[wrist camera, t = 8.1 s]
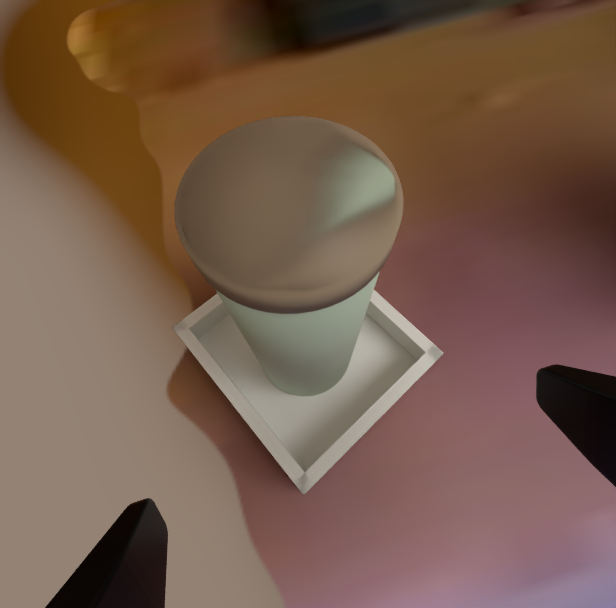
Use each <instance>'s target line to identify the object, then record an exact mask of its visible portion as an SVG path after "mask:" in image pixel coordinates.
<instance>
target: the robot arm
mask: <svg viewBox="0 0 616 608" xmlns="http://www.w3.org/2000/svg"><path fill="white" fill-rule="evenodd" d="M536 398H537V402H538V404H539V406H540V407H541V409H542V410H543V411H544V412H545V413H546V414H547V416H548V417H549V418H550V419H551V420H552V421H553V422H554V423H555V424H556V425H557V427H558V428H559V429H560V430H561V431H562V432H563V433H564V434H565V435H566V437H567V438H568V439H569V440H570V441H571V442H572V443H573V444H574V445H575V446H576V448H577V449H578V450H579V451H580V452H581V453H582V454H583V455H584V456H585V457H586V458H587V460H588V461H589V462H590V463H591V464H592V465H593V466H594V467H595V468H596V469H597V470H598V471H599V472H600V473H601V474H602V475H604V476H605V477H606V478H607V479H608V480H609V481H610V482H611V483H612V484H613V485H614V486H615V487H616V377H615V376H610V375H605V374H601V373H596V372H591V371H586V370H582V369H577V368H572V367H567V366H562V365H551V366H548V367H544V368H541V369H540V370H538V372H537V376H536ZM167 543H168V531H167V527H166V523H165V521H164V520H163V518H162V516H161V514H160V512H159V510H158V508H157V507H156V505H155V503H154V501H153V500H152V499H149V498H147V499H143V500H140V501H137V502H134V503H132V504H130V505H129V506H128V507H127V508H126V509H125V510H124V511H123V513H122V514H121V515H120V516H119V518H118V519H117V520H116V521H115V523H114V524H113V525H112V526H111V528H110V529H109V530H108V531H107V532H106V534H105V535H104V536H103V537H102V539H101V540H100V541H99V542H98V543H97V545H96V546H95V547H94V548H93V550H92V551H91V552H90V553H89V554H88V556H87V557H86V558H85V560H84V561H83V562H82V563H81V564H80V566H79V567H78V568H77V569H76V570H75V572H74V573H73V574H72V576H71V577H70V578H69V579H68V581H67V582H66V583H65V584H64V585H63V587H62V588H61V589H60V590H59V592H58V593H57V594H56V595H55V596H54V598H53V599H52V600H51V601H50V602H49V604H48V605H47V606H46V607H45V608H165V586H166V565H167Z"/></svg>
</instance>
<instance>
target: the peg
mask: <svg viewBox="0 0 616 608" xmlns="http://www.w3.org/2000/svg"><path fill="white" fill-rule="evenodd" d="M402 213H403V193H402V187H401V183H400V180H399V177H398V175H397V173H396V171H395V169H394V167H393V165H392V163H391V162H390V160H389V159H388V158H387V156H386V155H385V154H384V153H383V152H382V151H381V150H380V149H379V147H378V146H376V145H375V144H374V143H373V142H372V141H370V140H369V139H368V138H366V137H365V136H363V135H362V134H360V133H359V132H357V131H355V130H353V129H351V128H349V127H347V126H344V125H341V124H338V123H336V122H332V121H329V120H325V119H320V118H313V117H304V116H282V117H274V118H268V119H263V120H258V121H255V122H252V123H248V124H245V125H243V126H240V127H238V128H236V129H233V130H231V131H230V132H228V133H226V134H224V135H222V136H221V137H219V138H218V139H216V140H215V141H213V142H212V143H211V144H209V145H208V146H207V147H206V148H205V149H204V150H202V151H201V152H200V154H199V155H198V156H197V157H196V158H195V159H194V160H193V161H192V163H191V164H190V166H189V167H188V169H187V170H186V172H185V174H184V176H183V178H182V180H181V182H180V185H179V187H178V190H177V194H176V200H175V222H176V228H177V231H178V234H179V237H180V240H181V242H182V244H183V246H184V248H185V249H186V251H187V253H188V254H189V256H190V258H191V259H192V261H193V262H194V264H195V266H196V267H197V269H198V270H199V272H200V273H201V274H202V276H203V277H204V278H205V280H206V281H207V282H208V283H209V284H210V285H211V286H212V287H213V288H214V289H215V290H216V292H217V293H218V295H219V297H220V298H221V300H222V302H223V303H224V305H225V307H226V308H227V310H228V312H229V313H230V315H231V317H232V318H233V320H234V322H235V323H236V325H237V327H238V328H239V330H240V332H241V333H242V335H243V337H244V338H245V340H246V342H247V343H248V345H249V347H250V348H251V350H252V352H253V353H254V355H255V357H256V358H257V360H258V362H259V363H260V365H261V367H262V368H263V370H264V372H265V373H266V375H267V376H268V378H269V379H270V381H271V382H272V383H273V384H274V385H275V386H277V387H278V388H279V389H281V390H283V391H284V392H287V393H289V394H292V395H296V396H315V395H318V394H321V393H324V392H326V391H328V390H329V389H331V388H333V387H334V386H335V385H336V384H337V383H338V382H339V381H340V380H341V379H342V377H343V376H344V374H345V373H346V371H347V368H348V365H349V363H350V360H351V357H352V354H353V350H354V347H355V344H356V341H357V338H358V335H359V332H360V329H361V326H362V323H363V320H364V317H365V314H366V311H367V308H368V305H369V302H370V299H371V296H372V293H373V290H374V287H375V284H376V281H377V278H378V275H379V272H380V270H381V269H382V267H383V266H384V264H385V262H386V260H387V258H388V257H389V254H390V252H391V249H392V246H393V243H394V240H395V238H396V235H397V232H398V229H399V226H400V223H401V219H402Z"/></svg>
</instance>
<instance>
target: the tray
mask: <svg viewBox="0 0 616 608" xmlns="http://www.w3.org/2000/svg"><path fill="white" fill-rule="evenodd" d="M173 329H174V331H175V332H176V333H177V335H178V336H179V337H180V338H181V340H182V341H183V342H184V343H185V345H186V346H187V347H188V349H189V350H190V351H191V352H192V354H193V355H194V356H195V357H196V359H197V360H198V361H199V363H200V364H201V365H202V366H203V368H204V369H205V370H206V372H207V373H208V374H209V375H210V377H211V378H212V379H213V380H214V382H215V383H216V384H217V386H218V387H219V388H220V389H221V391H222V392H223V393H224V394H225V396H226V397H227V398H228V400H229V401H230V402H231V403H232V405H233V406H234V407H235V409H236V410H237V411H238V412H239V414H240V415H241V416H242V417H243V419H244V420H245V421H246V423H247V424H248V425H249V426H250V428H251V429H252V430H253V431H254V433H255V434H256V435H257V437H258V438H259V439H260V440H261V442H262V443H263V444H264V446H265V447H266V448H267V449H268V451H269V452H270V453H271V454H272V456H273V457H274V458H275V460H276V461H277V462H278V463H279V465H280V466H281V467H282V468H283V470H284V471H285V472H286V474H287V475H288V476H289V477H290V479H291V480H292V481H293V483H294V484H295V485H296V486H297V488H298V489H299V490H300V491H301V493H302V494H303V495H304V494H305V493H306V492H307V491H308V490H309V489H310V488H311V487H312V486H313V485H314V484H315V483H316V482H317V481H318V480H319V479H320V478H321V477H322V476H323V475H324V474H325V473H326V472H327V471H328V470H329V469H330V468H331V467H332V466H333V465H334V464H335V463H336V462H337V461H338V460H339V459H340V458H341V457H342V456H343V455H344V454H345V453H346V452H347V451H348V450H349V449H350V448H351V447H352V446H353V445H354V444H355V443H356V442H357V441H358V440H359V439H360V438H361V437H362V436H363V435H364V434H365V433H366V432H367V431H368V429H369V428H370V427H371V426H372V425H373V424H374V423H375V422H376V421H377V420H378V419H379V418H380V417H381V416H382V415H383V414H384V413H385V412H386V411H387V410H388V409H389V408H390V407H391V406H392V405H393V404H394V403H395V402H396V401H397V400H398V399H399V398H400V397H401V396H402V395H403V394H404V393H405V392H406V391H407V390H408V389H409V388H410V387H411V386H412V385H413V384H414V383H415V382H416V381H417V380H418V379H419V378H420V377H421V376H422V375H423V374H424V373H425V372H426V371H427V370H428V369H429V368H430V367H431V366H432V365H433V364H434V363H435V362H436V361H437V360H438V359H439V358H440V357H441V356H442V355H443V354H444V353H443V352H442V351H441V350H440V349H439V348H438V347H436V346H435V345H434V344H433V343H432V342H431V341H430V340H429V339H428V338H427V337H425V336H424V335H423V334H422V333H421V332H420V331H419V330H418V329H417V328H416V327H414V326H413V325H412V324H411V323H410V322H409V321H408V320H407V319H406V318H405V317H403V316H402V315H401V314H400V313H399V312H398V311H397V310H396V309H395V308H393V307H392V306H391V305H390V304H389V303H388V302H387V301H386V300H385V299H384V298H382V297H381V296H380V295H379V294H378V293H377V292H376V291H375V290H373V293H372V296H371V299H370V302H369V305H368V308H367V311H366V314H365V317H364V320H363V323H362V326H361V329H360V332H359V335H358V338H357V341H356V344H355V347H354V350H353V354H352V357H351V360H350V363H349V365H348V368H347V371H346V373H345V374H344V376H343V377H342V379H341V380H340V381H339V382H338V383H337V384H336V385H335V386H334V387H333V388H331V389H329V390H328V391H326V392H324V393H321V394H318V395H315V396H296V395H292V394H289V393H287V392H284V391H283V390H281V389H279V388H278V387H277V386H275V385H274V384H273V383H272V382H271V381H270V379H269V378H268V376H267V375H266V373H265V372H264V370H263V368H262V367H261V365H260V363H259V362H258V360H257V358H256V357H255V355H254V353H253V352H252V350H251V348H250V347H249V345H248V343H247V342H246V340H245V338H244V337H243V335H242V333H241V332H240V330H239V328H238V327H237V325H236V323H235V322H234V320H233V318H232V317H231V315H230V313H229V312H228V310H227V308H226V307H225V305H224V303H223V302H222V300H221V298H220V297H219V295H218V293H217V294H216V295H215V296H213V297H212V298H211V299H209V300H208V301H207V302H205V303H204V304H203V305H201V306H200V307H199V308H197V309H196V310H195V311H193V312H192V313H191V314H189V315H188V316H187V317H185V318H184V319H183V320H182V321H180V322H179V323H178V324H176V325H175V326H174V327H173Z"/></svg>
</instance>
